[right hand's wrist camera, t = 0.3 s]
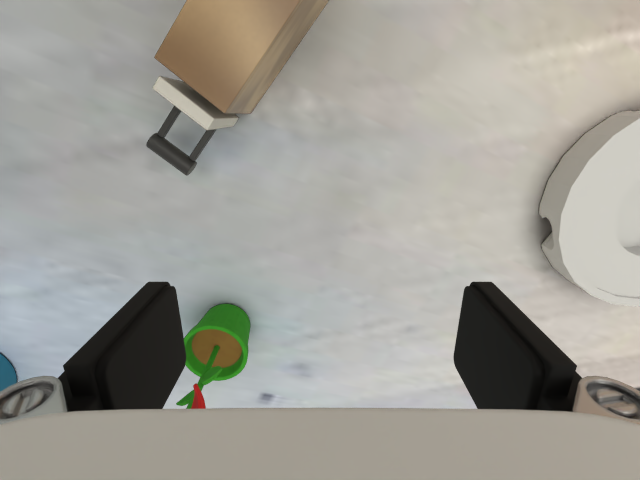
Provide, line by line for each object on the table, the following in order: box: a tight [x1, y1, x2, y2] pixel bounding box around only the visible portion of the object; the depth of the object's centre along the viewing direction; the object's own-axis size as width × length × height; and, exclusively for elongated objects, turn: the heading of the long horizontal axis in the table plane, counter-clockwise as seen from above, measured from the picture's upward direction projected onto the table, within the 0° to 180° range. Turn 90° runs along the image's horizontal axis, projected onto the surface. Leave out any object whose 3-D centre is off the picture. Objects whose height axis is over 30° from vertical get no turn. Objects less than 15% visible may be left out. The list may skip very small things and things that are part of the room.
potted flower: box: [176, 304, 250, 409], centre depth 35 cm, size 9×8×25 cm
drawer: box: [147, 76, 239, 175], centre depth 31 cm, size 25×5×9 cm, turn 141°
